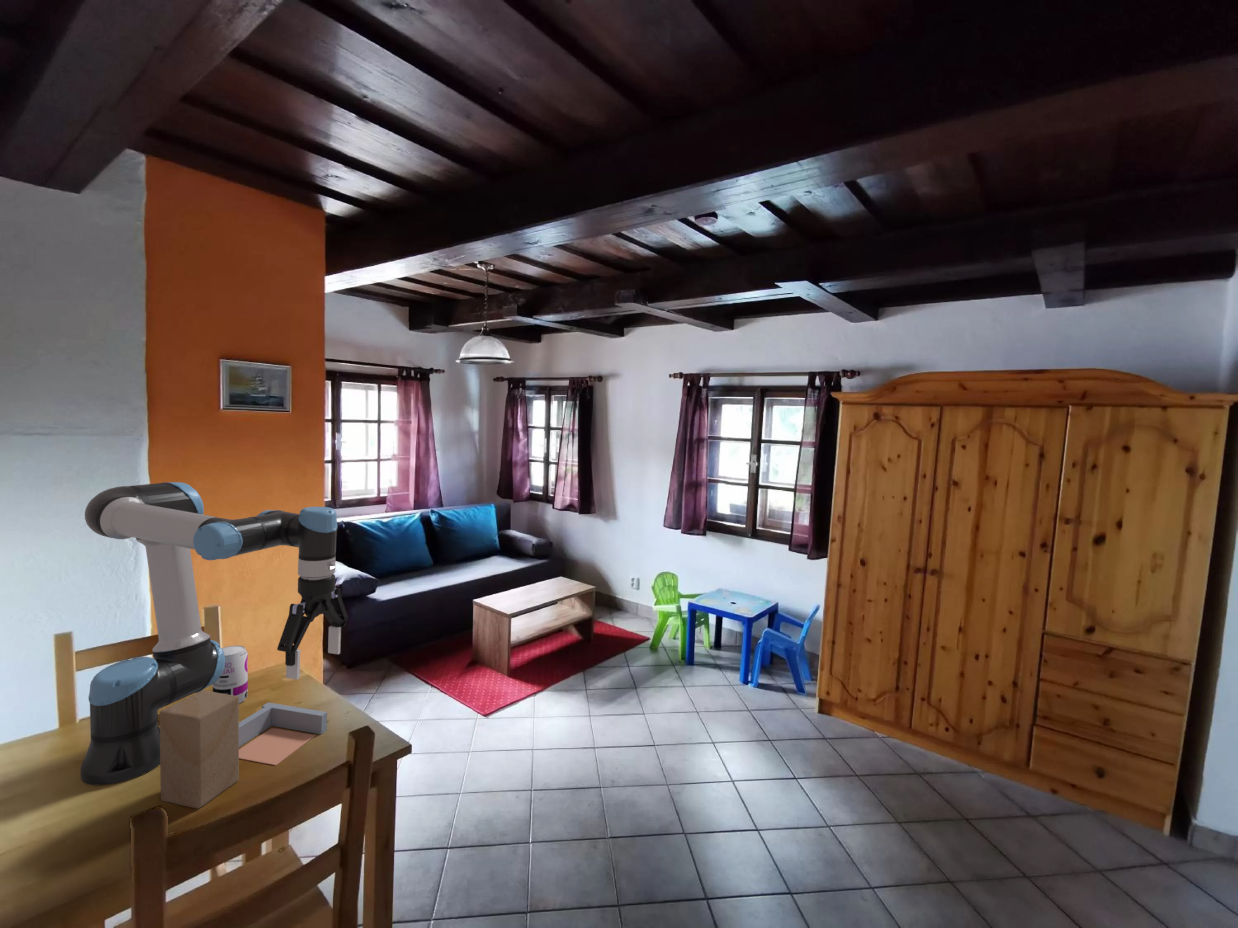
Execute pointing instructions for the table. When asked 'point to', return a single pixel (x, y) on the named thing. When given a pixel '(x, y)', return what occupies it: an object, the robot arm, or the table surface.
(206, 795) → the wooden block
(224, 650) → the supplement can
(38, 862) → the table surface
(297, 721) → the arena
